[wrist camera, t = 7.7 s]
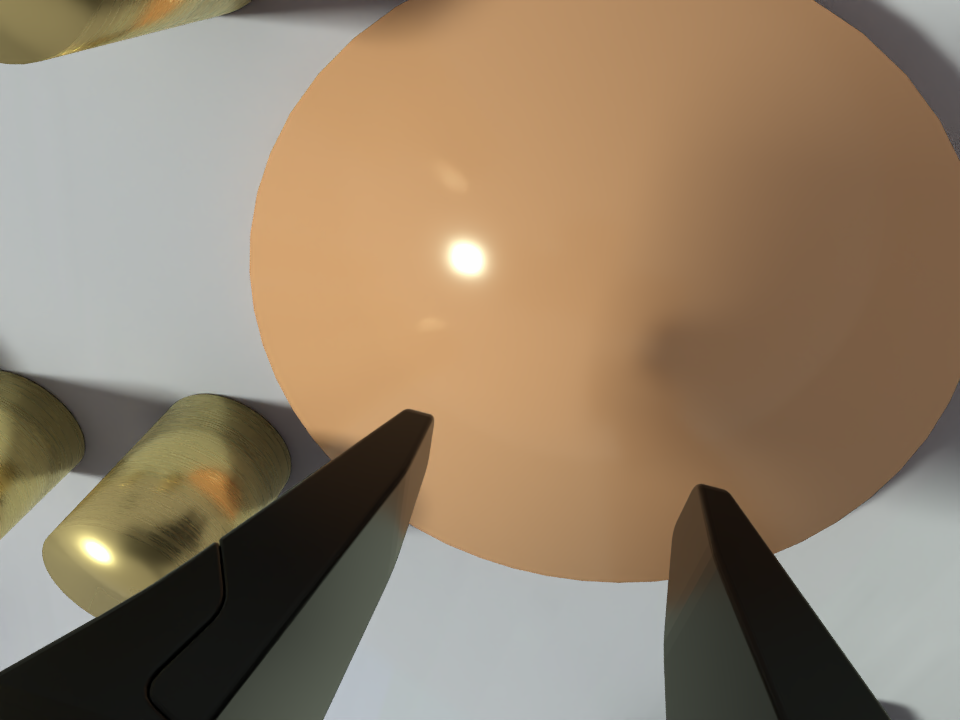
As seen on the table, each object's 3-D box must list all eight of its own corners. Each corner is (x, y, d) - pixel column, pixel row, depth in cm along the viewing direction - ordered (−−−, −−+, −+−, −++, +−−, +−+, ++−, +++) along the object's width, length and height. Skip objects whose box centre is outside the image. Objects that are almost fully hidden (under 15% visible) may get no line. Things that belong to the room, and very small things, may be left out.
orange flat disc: (1057, 444, 12) (1081, 475, 11) (499, 603, 17) (494, 631, 17) (761, -307, 7) (772, -327, 7) (148, 224, 13) (121, 240, 12)
